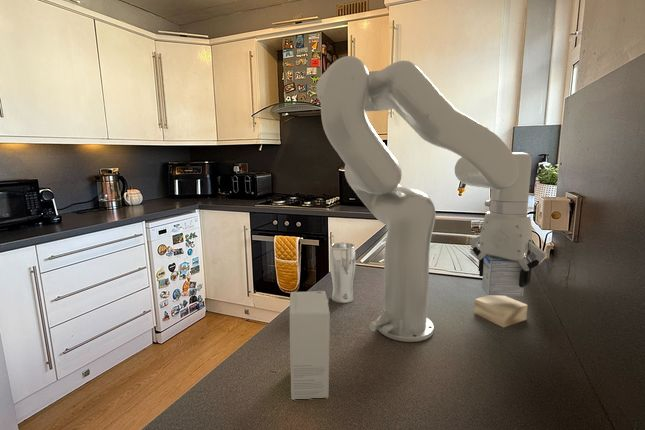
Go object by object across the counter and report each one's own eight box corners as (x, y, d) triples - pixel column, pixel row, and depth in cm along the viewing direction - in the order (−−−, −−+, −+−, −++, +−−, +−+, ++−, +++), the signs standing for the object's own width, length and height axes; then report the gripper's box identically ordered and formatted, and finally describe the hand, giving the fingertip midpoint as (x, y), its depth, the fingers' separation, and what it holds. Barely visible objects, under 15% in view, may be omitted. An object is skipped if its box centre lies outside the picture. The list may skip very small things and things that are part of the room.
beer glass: (358, 295, 97) (359, 243, 94) (350, 306, 91) (350, 250, 88) (335, 292, 100) (335, 241, 97) (325, 301, 94) (325, 247, 91)
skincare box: (291, 370, 64) (289, 290, 62) (327, 368, 65) (326, 289, 62) (290, 402, 56) (287, 312, 53) (331, 400, 57) (330, 310, 54)
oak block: (503, 328, 79) (504, 312, 78) (474, 314, 86) (475, 298, 85) (526, 320, 82) (527, 304, 82) (496, 307, 89) (497, 292, 89)
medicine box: (515, 289, 85) (518, 255, 83) (523, 297, 80) (526, 260, 79) (481, 288, 86) (483, 254, 84) (487, 296, 81) (490, 260, 80)
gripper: (463, 205, 84) (460, 274, 87) (544, 214, 70) (536, 295, 73) (479, 202, 88) (475, 267, 91) (558, 210, 75) (550, 286, 78)
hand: (502, 280), depth 82 cm, fingers closed on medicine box, 8 cm apart
